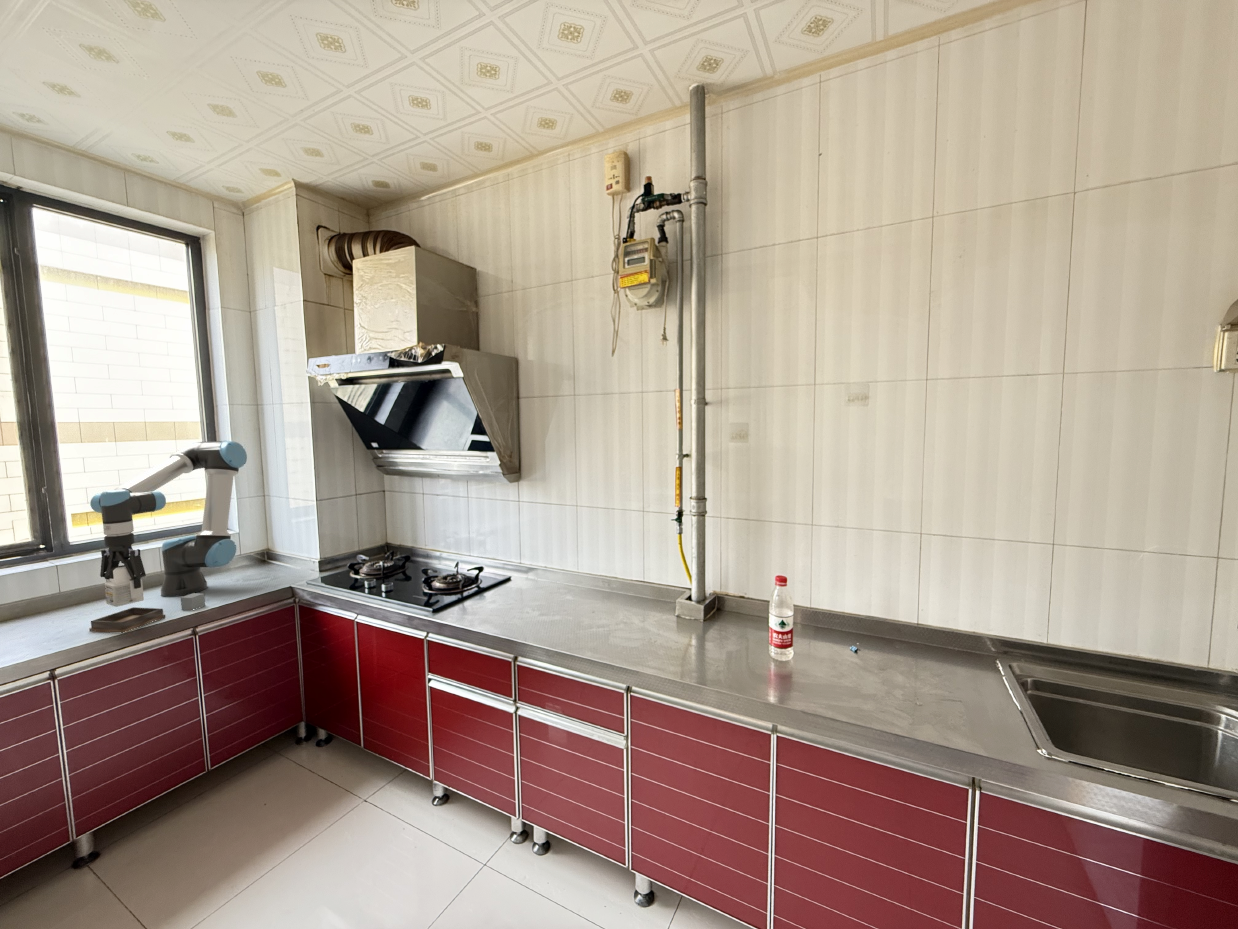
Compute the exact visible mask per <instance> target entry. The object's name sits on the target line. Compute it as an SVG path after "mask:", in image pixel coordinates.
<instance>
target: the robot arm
mask: <svg viewBox="0 0 1238 929" xmlns="http://www.w3.org/2000/svg"><path fill="white" fill-rule="evenodd" d="M247 459H248V455H247V451H246V448H244V446H243V445H242V444H240V443H239V442H237V441H233V440H232V441H230V440H218V441H198V442H195V443H192V444H190V445H188V446H185V447H184V448H181V449H180V450H177V451H176V452H174V453H172V454H170V456H169V458H168V459H167V460H165V461H163V462H161V463H159V464H158V465H156V466H154V467H153V468H151V469H149V470H147V471H145V472H143V473H141V474H140V475H138V476H136V477H134V478H133V479H131V480H129V481H128V482H126V483H123V484H122V485H120V486H119V487H116V488H114V489H113V490H105V491H102V492H101V493H97V494H95V495H93V497H91V499H90V501H89V503H90V508H91V509H92V510H93V511H94V512H96V513H99V514H101V520H102V525H103V529H102V530H103V535H104V537H103V540H104V542H103V543H104V547H105V548H106V549H102V550H101V551H100V553H101V562H100V563H101V564H100V574H99V576H100V577H101V578H104V579H105V580H106V582H110V575H109V570H110V569H111V568H113V567H117V566H120V563H121V564H123V565H125V567H126V569H127V571H128V573H129V575H130V577H131V579H130V591H131V599H133V598H137V597H140V596H141V580H142V579H141V578H144V577H147V576H146V575H147V574H146V570H145V566H144V564H143V561H142V558H141V549H139V548H138V549H133V547H132V545H133V544H135V542H136V541H135V534H134V533H133V532H134V531H135V530H134V529H135V528H134V521H133V516H134V515H140V514H146V513H153V512H157V511H161V510H162V509H163V508H165V506H166V504H167V500H166V499H167V498H166V496H165V494H164V493H162V492H161V491H157V490H158V489H160V488H162V487H163V486H165V485H167V484H168V483H170V482H171V481H173V480H174V479H176V478H178V477H180V476H181V475H183V474H190V473H191V472H193V471H195V470H201V469H204V472H205V473H207V475H208V478H207V485H206V493H205V500H204V509H203V510H204V511H203V518H202V523H201V531H199V532H198V533H196V535H193V534H192V535H187V536H181V537H177V538H173V539H169V540H166V541H164V542H163V543H162V545H161V546H162V547H161V549H162V550H161V554H162V555H161V556H162V562H163V570H164V578H163V582H162V585H161V589H160V595H161V597H164V598H165V597H167V598H171V597H183V596H186V595H189V594H192V593H195V592H196V593H198V592H202V591H204V590H206V589H208V581H207V580H206V577H205V576H204V574H203V573H202V570H201V568H209V569H210V568H211V569H212V568H213V569H214V568H221V567H225V566H227V565H229V564H230V562H232V561H233V559H234V558H235V557H236V554H237V545H236V543H235V540H234V541H233V539H231V536H232V535H231V534H230V533H229V532H228V526H229V519H230V517H229V516H230V509H231V500H232V493H233V485H234V477H235V476H236V475H238V474H239V469H240V468H242V467H244V466H245V464H246V463H247Z"/></svg>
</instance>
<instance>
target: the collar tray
mask: <svg viewBox="0 0 1238 929" xmlns="http://www.w3.org/2000/svg"><path fill="white" fill-rule="evenodd" d="M163 610H164V609H163V608H154V607H135V606H132V607H129V608H127V609H124V610H120V611H118V612H114V613H112V614H108V615H105V616H101V617H99V618H96V619H92V620H90V626H91V627H89V632H93V633H94V632H98V633H110V632H121V633H120V634H124V633H123V632H125V631H127V632H130V631H132V630H131V629H133V630H135V629H134V628H136V629H138V628H140V626H141V627H143V625H144V626H146V625H145V624H147V623H149V624H151V623H150V622H152V621H155V620H158V621H160V620H163V619H165V617H166V614H164V611H163ZM162 618H163V619H162ZM159 619H160V620H159ZM155 622H156V621H155ZM152 623H153V622H152ZM147 625H148V624H147ZM137 627H138V628H137ZM129 630H130V631H129ZM125 633H126V632H125Z"/></svg>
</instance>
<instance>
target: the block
mask: <svg viewBox="0 0 1238 929" xmlns="http://www.w3.org/2000/svg"><path fill="white" fill-rule="evenodd" d="M179 598H180V607H181V611H191V610H193V609H195V610H197V609H196V608H198V609H200V608H199V607H201V608H203V607H202V606H204V607H205V606H206V598H205V593H201V592H200V593H198V592H196V593H192V594H187V595H182V596H179ZM193 611H194V610H193Z"/></svg>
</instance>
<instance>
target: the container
mask: <svg viewBox="0 0 1238 929" xmlns="http://www.w3.org/2000/svg"><path fill="white" fill-rule="evenodd" d="M109 575H110V582H107V581H106V582H104V592H105V601H106V602H105V603H106V605H109V606H112V607H116V608H118V607H122V606H125V605H130V604H133V603H138V602H142V601H144V599H145V598H144V597H145V596H144V586H143V580H142V579H141V596H140V597H137V598H133V599H131V591H130V579H131V577H130V575H129V573H128V571H127V569H126V567H125V565H124V564H123V565H119V566H117V567H113V568H111V569H110V570H109Z"/></svg>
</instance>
